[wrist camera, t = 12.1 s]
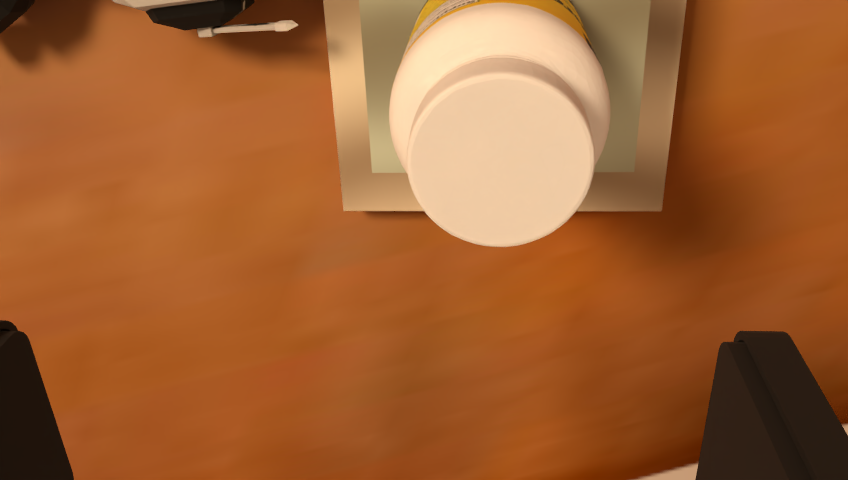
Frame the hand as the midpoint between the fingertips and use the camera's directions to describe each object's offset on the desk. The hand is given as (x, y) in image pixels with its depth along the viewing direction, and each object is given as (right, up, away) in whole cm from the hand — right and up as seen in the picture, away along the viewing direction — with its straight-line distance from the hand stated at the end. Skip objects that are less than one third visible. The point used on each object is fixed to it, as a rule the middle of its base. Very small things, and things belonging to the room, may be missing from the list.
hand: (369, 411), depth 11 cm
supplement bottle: (+3, +9, +15) cm, 17 cm away
